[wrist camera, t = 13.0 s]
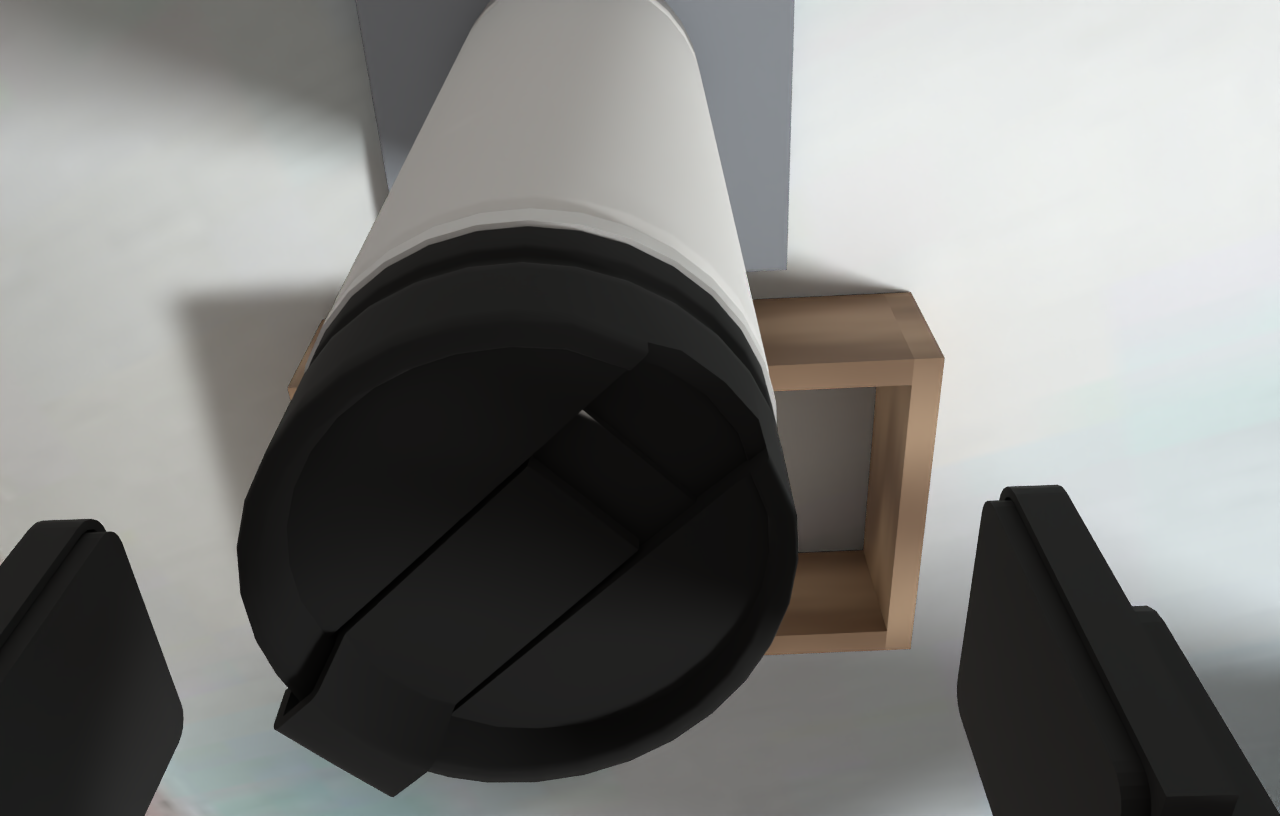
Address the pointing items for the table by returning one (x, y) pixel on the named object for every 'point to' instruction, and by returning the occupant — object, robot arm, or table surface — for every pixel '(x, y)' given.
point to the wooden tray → (899, 465)
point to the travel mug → (530, 430)
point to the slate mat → (729, 67)
